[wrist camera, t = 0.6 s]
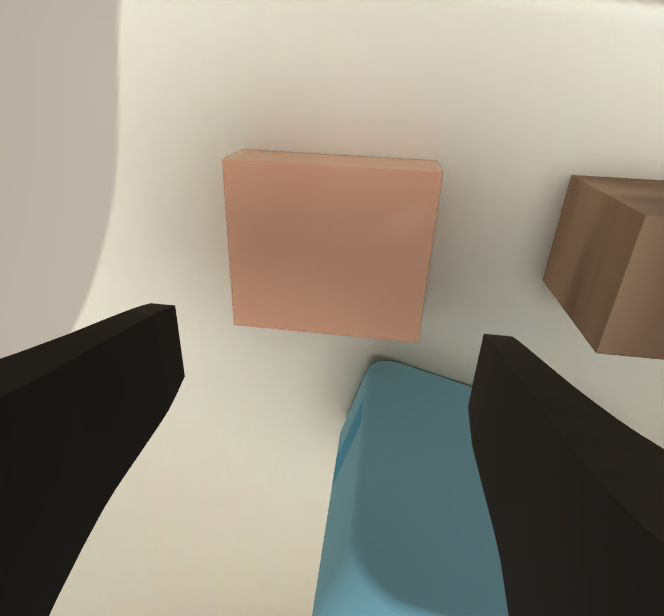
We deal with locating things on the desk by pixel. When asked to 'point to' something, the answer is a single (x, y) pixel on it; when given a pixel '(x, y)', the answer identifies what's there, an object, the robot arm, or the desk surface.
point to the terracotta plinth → (330, 241)
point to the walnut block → (612, 263)
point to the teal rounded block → (408, 506)
